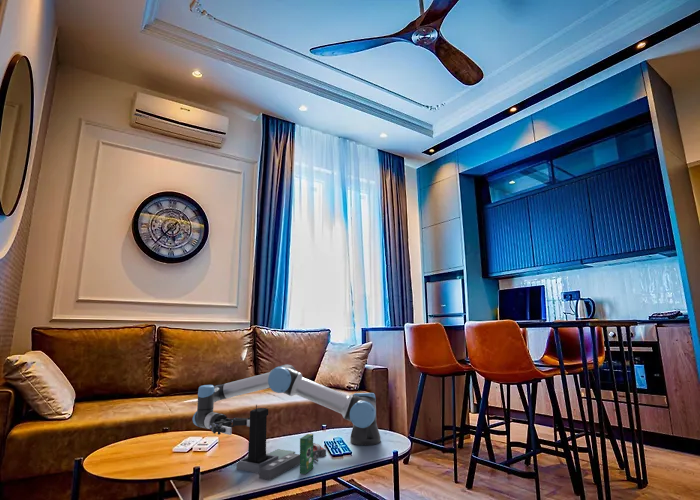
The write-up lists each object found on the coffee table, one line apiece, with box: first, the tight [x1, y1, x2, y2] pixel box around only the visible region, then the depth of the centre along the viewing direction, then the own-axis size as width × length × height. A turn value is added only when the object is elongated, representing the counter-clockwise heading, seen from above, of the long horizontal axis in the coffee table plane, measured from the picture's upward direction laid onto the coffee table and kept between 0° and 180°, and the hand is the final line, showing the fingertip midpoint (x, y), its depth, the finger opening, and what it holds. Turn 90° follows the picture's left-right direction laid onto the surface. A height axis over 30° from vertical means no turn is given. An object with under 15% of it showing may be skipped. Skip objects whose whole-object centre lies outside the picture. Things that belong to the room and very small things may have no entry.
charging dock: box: [236, 453, 300, 481], centre depth 160 cm, size 20×20×4 cm
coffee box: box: [299, 433, 314, 475], centre depth 157 cm, size 8×3×13 cm, turn 162°
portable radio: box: [247, 404, 269, 464], centre depth 164 cm, size 8×6×25 cm
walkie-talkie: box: [313, 442, 327, 462], centre depth 174 cm, size 9×4×20 cm
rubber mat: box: [267, 448, 296, 459], centre depth 175 cm, size 10×12×1 cm
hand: (244, 427), depth 170 cm, fingers open, 13 cm apart
